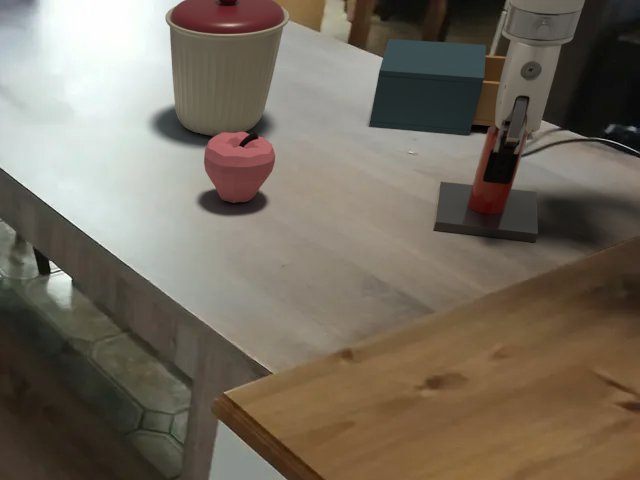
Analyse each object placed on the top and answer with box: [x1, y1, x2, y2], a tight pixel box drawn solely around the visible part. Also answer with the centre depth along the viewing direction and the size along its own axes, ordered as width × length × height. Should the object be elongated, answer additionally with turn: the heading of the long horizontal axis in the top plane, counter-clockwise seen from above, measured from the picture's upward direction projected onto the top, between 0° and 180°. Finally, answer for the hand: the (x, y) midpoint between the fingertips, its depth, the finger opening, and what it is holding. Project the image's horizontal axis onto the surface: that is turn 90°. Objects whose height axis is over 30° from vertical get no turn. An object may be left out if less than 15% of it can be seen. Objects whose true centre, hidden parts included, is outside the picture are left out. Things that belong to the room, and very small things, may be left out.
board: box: [433, 181, 539, 243], centre depth 121 cm, size 12×12×1 cm
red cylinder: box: [468, 124, 529, 214], centre depth 117 cm, size 5×5×10 cm
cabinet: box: [368, 38, 487, 136], centre depth 144 cm, size 15×15×9 cm
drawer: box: [472, 54, 532, 134], centre depth 141 cm, size 15×13×7 cm
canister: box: [164, 0, 290, 137], centre depth 141 cm, size 18×18×21 cm
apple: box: [203, 130, 276, 204], centre depth 125 cm, size 10×9×10 cm
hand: (496, 171), depth 117 cm, fingers closed on red cylinder, 4 cm apart
